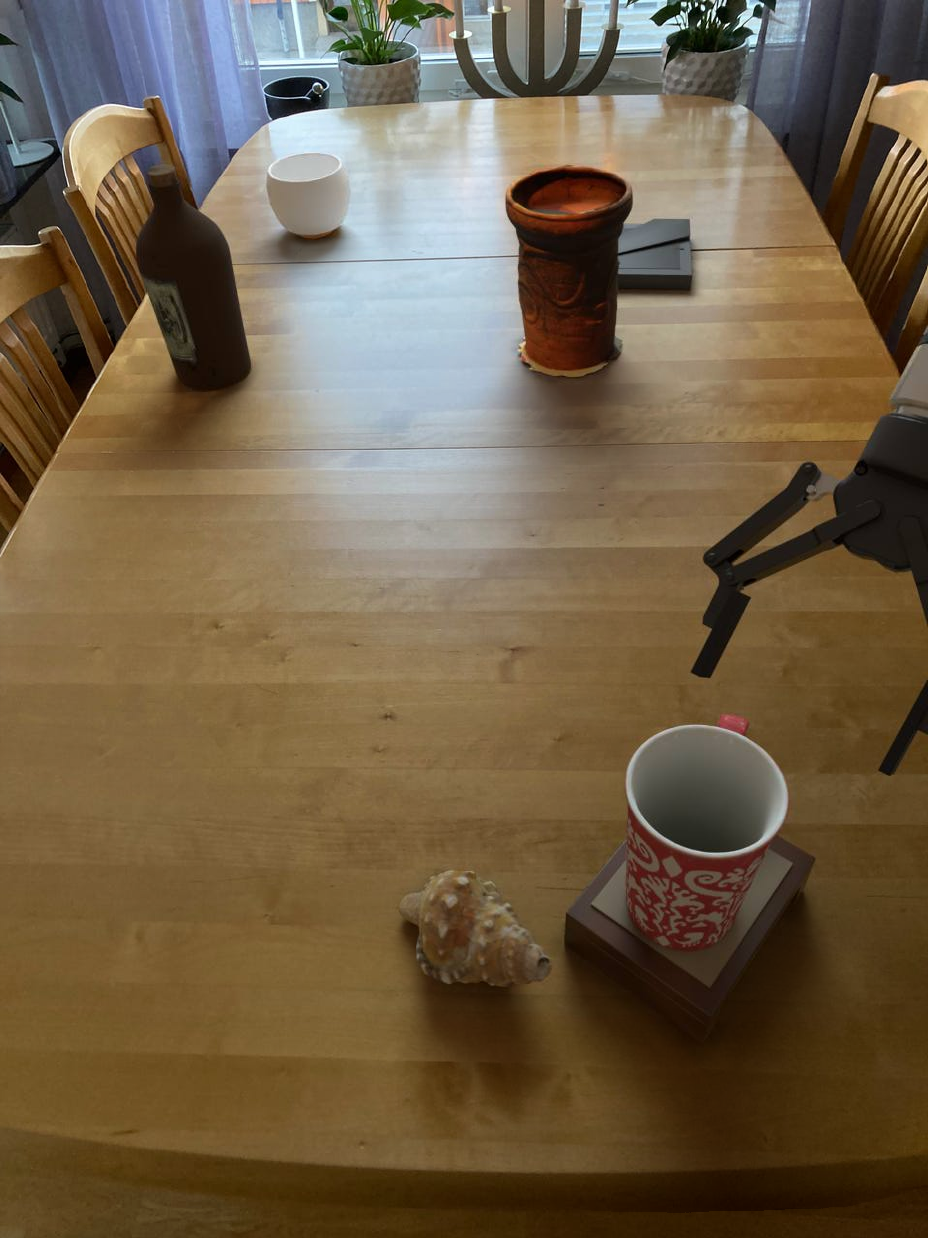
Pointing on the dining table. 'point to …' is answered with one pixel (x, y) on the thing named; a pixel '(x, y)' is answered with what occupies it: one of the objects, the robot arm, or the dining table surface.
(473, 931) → the seashell
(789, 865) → the brown rectangular block
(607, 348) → the vessel
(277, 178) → the cup
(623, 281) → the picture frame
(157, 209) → the olive oil
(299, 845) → the dining table surface
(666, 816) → the mug
